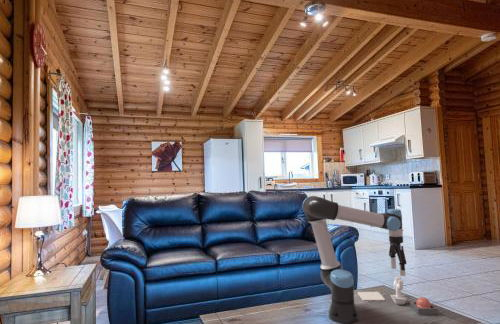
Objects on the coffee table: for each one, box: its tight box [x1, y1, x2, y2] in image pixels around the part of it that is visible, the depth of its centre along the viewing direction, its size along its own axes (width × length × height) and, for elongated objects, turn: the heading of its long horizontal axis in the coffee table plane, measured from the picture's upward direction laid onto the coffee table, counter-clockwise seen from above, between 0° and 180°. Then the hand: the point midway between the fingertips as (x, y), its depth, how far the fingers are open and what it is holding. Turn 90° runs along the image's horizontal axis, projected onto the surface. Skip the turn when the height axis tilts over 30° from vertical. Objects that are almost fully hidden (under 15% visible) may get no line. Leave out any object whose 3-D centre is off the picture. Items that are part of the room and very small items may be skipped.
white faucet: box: [390, 276, 408, 305], centre depth 190 cm, size 7×9×15 cm
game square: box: [357, 291, 386, 302], centre depth 200 cm, size 13×13×1 cm
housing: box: [409, 301, 439, 316], centre depth 178 cm, size 10×10×3 cm
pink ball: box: [415, 296, 432, 308], centre depth 178 cm, size 7×7×7 cm
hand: (398, 272), depth 190 cm, fingers open, 13 cm apart
